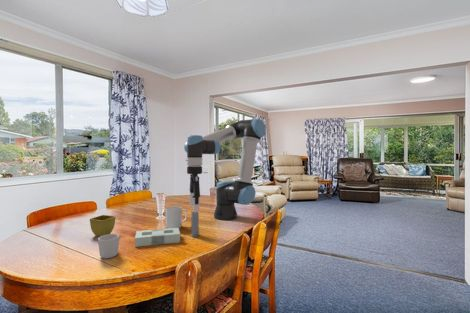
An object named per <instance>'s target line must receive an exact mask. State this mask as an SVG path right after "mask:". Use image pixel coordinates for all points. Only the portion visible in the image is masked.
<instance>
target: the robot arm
mask: <svg viewBox="0 0 470 313" xmlns="http://www.w3.org/2000/svg"><path fill="white" fill-rule="evenodd" d="M266 131H267V129H266V125H265V122H264V121H263V120H262V119H260V118H253V119H252V118H251V119H242V120H237V121H235V122H232V123H230V124H229V125H226V126H225V127H224V128H222V129H220V130H217V131H215V132H212V133H209V134H207V135H204V136H202V135H198V134H197V135H195V134H190V135H188V136H187V140H186V142H185V143H184V145H183V146H184V151H185V153H186V156H187V159H185V161H186V162H187V164H186V165H187V169H186V173H187V175H190V177H189V178H190V179H189V180H190V181H189V206H193V209H192V210H193V211H192V212H196V211H198V212H199V211H200V197H201V189H200V176H198V175H201V174H203V167H202V166H203V155H218V154H219V153H220V152H221V143H223V142H226V141H229V140H230V141H231V140H235V139H242V140H243V146H242V150H241V157H240V161H239V162H240V163H239V168H238V174H237V178H236V179H234V180H229V181H228V180H227V181H220V182H217V183H216V188H215V189H216V191H215V192H216V194H215V195H216V205H215V208H214V212H213V219H216V220H220V221H229V220H234V219H237V218H238V211H237V209H236V206H235V204H239V205H242V206H243V205H244V206H245V205H246V206H247V205H250V204H251V203H253V201H255V197H256V188H255V187H254V183H253V181H252V177H253V171H254V167H255V159H256V154H257V148H258V144H259V143H261V139H262V138H263V137H264V136H266V133H267V132H266Z"/></svg>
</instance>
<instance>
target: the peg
mask: <svg viewBox="0 0 470 313" xmlns="http://www.w3.org/2000/svg"><path fill="white" fill-rule="evenodd" d="M190 214H191V216H190V217H191V221H190V222H191V223H190V224H191V225H190V226H191V229H190V230H191V231H190V232H191V233H190V234H191V237H192V238H196V237H199V234H200V233H199V231H200V228H199V223H200V222H199V221H200V220H199V211H190Z"/></svg>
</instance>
